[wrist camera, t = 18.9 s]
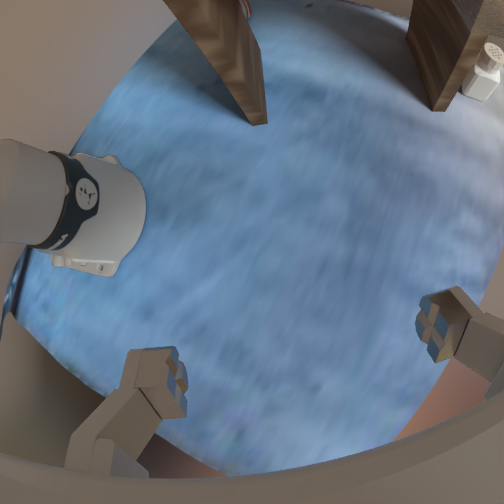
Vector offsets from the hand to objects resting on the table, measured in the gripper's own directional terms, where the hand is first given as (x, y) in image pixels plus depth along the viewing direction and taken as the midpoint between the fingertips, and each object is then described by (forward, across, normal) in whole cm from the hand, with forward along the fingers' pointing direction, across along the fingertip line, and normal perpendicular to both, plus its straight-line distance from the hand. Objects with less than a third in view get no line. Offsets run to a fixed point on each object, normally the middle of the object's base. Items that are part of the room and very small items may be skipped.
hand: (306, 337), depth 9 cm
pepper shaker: (+28, -33, -6) cm, 44 cm away
